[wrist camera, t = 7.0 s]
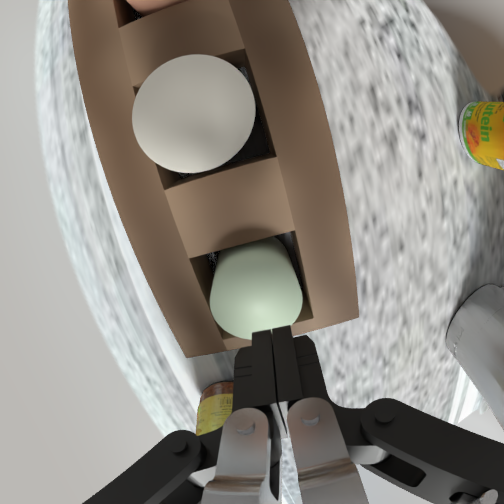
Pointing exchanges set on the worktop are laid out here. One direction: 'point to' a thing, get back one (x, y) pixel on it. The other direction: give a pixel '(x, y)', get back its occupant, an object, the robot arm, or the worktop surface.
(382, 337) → the worktop surface
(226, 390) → the sauce bottle
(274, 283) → the button sage
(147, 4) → the button terracotta
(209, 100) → the button cream
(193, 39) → the panel
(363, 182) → the worktop surface
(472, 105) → the supplement bottle
